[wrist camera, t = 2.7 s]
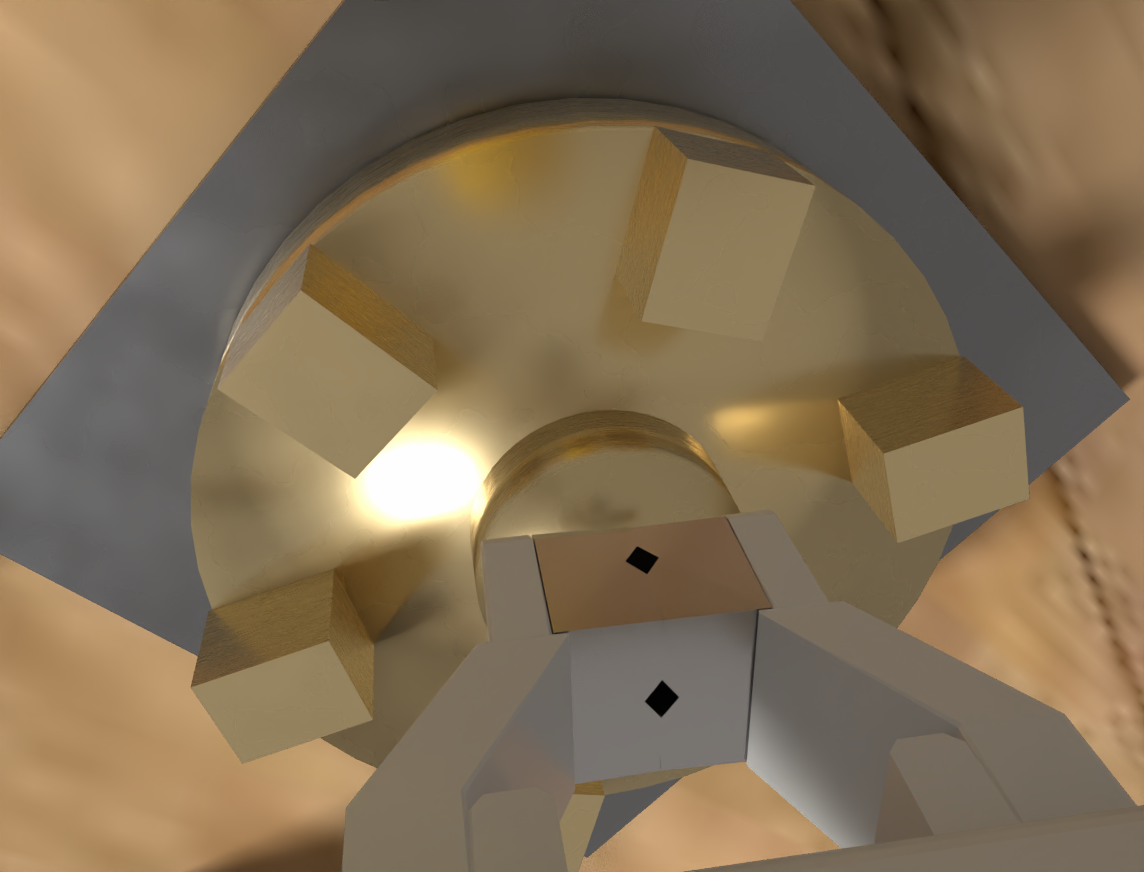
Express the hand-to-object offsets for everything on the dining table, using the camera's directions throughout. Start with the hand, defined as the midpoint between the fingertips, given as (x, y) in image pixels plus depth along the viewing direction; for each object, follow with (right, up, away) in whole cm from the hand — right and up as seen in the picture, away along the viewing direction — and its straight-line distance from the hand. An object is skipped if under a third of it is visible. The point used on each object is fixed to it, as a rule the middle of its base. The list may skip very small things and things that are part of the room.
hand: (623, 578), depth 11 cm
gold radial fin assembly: (0, +1, +16) cm, 16 cm away
